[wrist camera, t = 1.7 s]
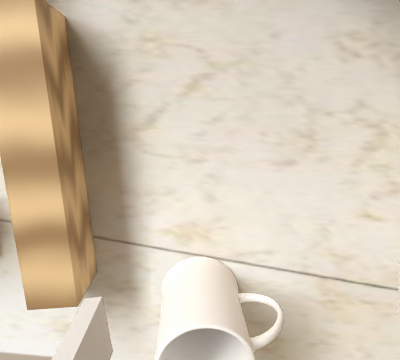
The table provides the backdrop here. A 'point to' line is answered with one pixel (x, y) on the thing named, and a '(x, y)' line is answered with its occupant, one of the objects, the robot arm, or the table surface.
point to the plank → (43, 156)
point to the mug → (207, 314)
